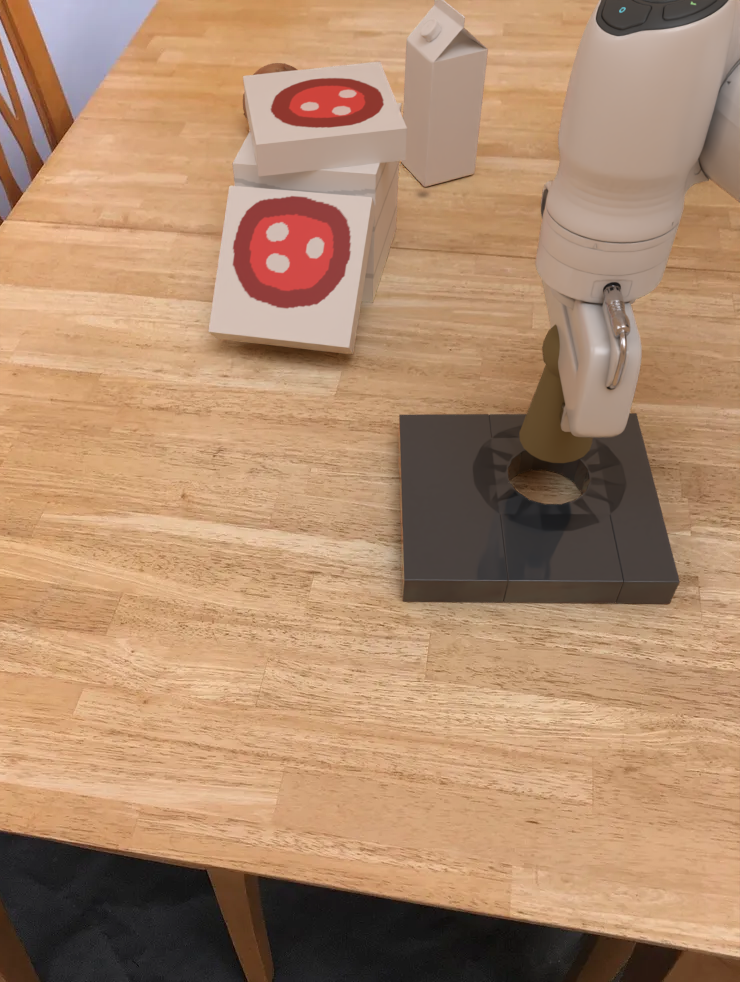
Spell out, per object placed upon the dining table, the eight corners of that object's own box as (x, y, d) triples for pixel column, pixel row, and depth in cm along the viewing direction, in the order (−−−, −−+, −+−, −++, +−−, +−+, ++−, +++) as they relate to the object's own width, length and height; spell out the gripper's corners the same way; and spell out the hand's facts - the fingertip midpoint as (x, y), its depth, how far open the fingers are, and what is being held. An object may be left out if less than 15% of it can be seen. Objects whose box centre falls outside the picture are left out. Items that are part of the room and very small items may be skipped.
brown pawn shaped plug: (559, 474, 76) (587, 366, 67) (504, 436, 79) (524, 328, 70) (607, 439, 78) (640, 330, 69) (551, 404, 81) (576, 295, 72)
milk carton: (449, 150, 122) (463, -12, 107) (474, 175, 118) (492, 10, 103) (400, 162, 121) (407, 0, 106) (424, 188, 117) (435, 23, 102)
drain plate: (629, 436, 88) (636, 412, 86) (669, 604, 76) (680, 582, 74) (398, 437, 90) (399, 414, 88) (402, 602, 78) (404, 580, 76)
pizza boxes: (195, 359, 99) (169, 200, 84) (267, 208, 116) (255, 54, 101) (372, 381, 95) (375, 218, 81) (419, 221, 112) (428, 63, 98)
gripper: (680, 339, 58) (626, 493, 69) (625, 169, 70) (587, 323, 81) (577, 340, 58) (540, 493, 69) (541, 171, 70) (514, 324, 81)
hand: (565, 400), depth 75 cm, fingers closed on brown pawn shaped plug, 4 cm apart
